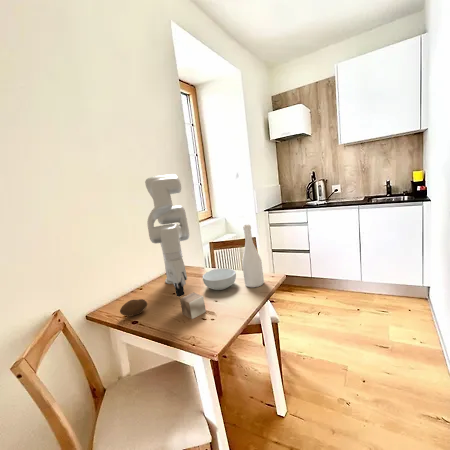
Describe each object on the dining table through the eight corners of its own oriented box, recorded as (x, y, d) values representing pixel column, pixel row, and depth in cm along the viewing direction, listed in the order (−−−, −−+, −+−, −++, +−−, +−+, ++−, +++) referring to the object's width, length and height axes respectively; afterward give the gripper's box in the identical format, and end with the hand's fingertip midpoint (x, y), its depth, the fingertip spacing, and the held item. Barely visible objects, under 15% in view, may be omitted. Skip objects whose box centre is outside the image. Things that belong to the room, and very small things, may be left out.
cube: (179, 298, 106) (189, 302, 101) (193, 292, 111) (203, 296, 106) (182, 314, 107) (192, 319, 102) (196, 307, 112) (205, 311, 107)
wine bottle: (262, 279, 132) (255, 222, 127) (265, 286, 123) (258, 225, 118) (244, 281, 132) (236, 224, 127) (246, 289, 123) (237, 228, 118)
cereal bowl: (223, 296, 118) (221, 282, 117) (197, 291, 129) (195, 278, 128) (243, 282, 132) (242, 269, 130) (218, 278, 142) (216, 266, 141)
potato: (151, 311, 114) (148, 296, 113) (125, 322, 107) (122, 307, 106) (144, 307, 120) (142, 293, 119) (120, 317, 112) (116, 303, 111)
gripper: (157, 255, 113) (164, 295, 116) (174, 260, 102) (182, 303, 105) (172, 251, 118) (178, 288, 121) (190, 254, 107) (197, 296, 109)
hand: (180, 295), depth 113 cm, fingers closed
